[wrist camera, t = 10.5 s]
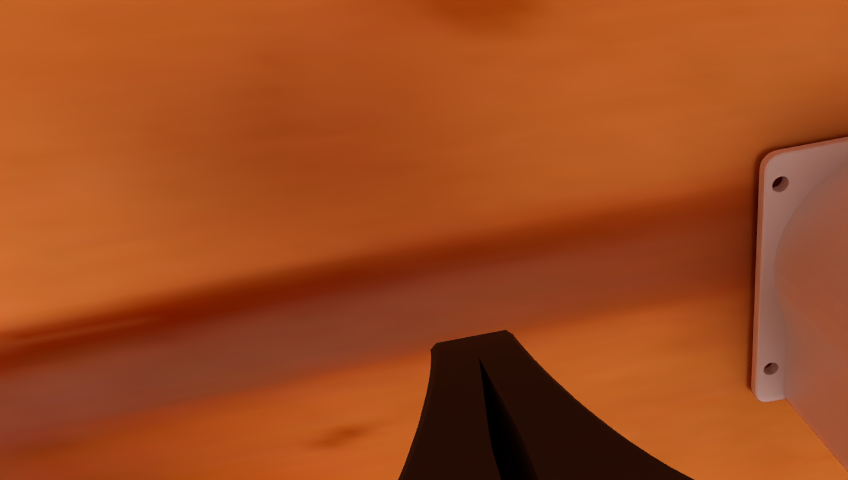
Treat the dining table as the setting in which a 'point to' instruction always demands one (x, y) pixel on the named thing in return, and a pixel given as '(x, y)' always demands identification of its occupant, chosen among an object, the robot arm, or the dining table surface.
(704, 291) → the dining table surface
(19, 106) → the dining table surface
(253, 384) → the dining table surface
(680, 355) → the dining table surface
